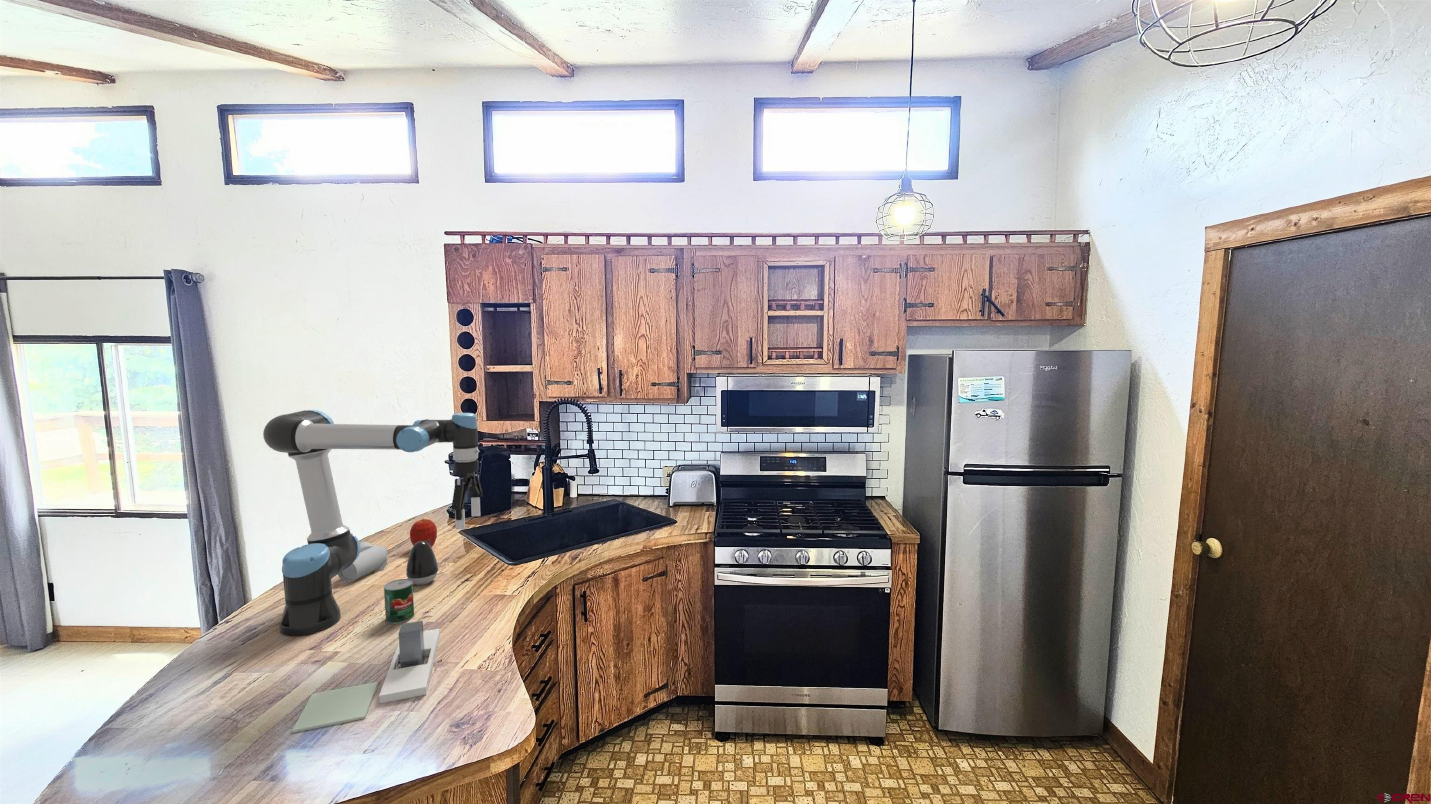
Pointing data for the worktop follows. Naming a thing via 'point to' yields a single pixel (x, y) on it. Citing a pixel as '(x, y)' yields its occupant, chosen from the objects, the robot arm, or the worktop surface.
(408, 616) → the canned tomato
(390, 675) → the rail
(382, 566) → the elbow connector
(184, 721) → the worktop surface
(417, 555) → the black rounded cone
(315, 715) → the pad
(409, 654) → the square block
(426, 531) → the apple
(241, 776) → the worktop surface
